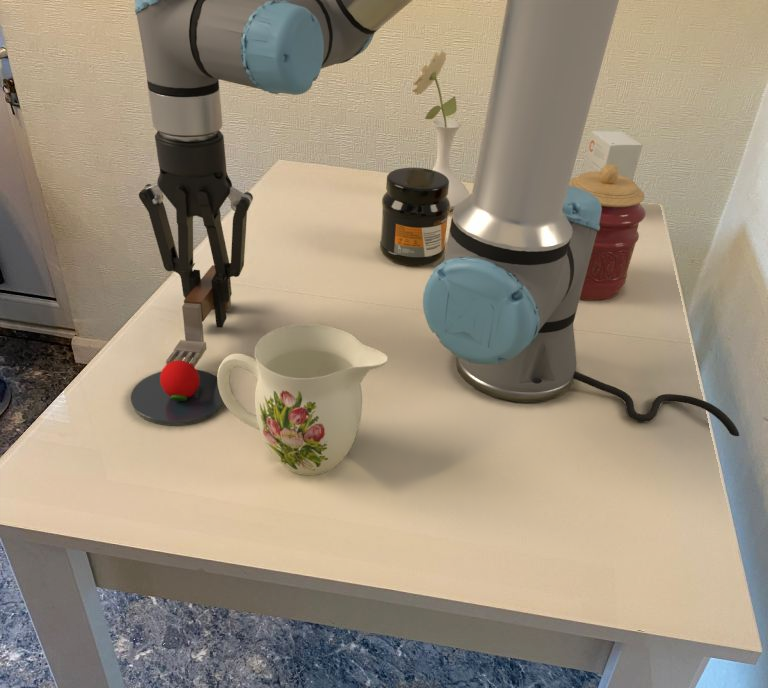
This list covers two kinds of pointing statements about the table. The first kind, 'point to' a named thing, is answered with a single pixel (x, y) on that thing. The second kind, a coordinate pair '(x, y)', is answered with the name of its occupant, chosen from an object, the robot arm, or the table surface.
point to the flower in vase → (442, 128)
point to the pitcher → (304, 393)
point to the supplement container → (414, 216)
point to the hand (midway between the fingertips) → (210, 321)
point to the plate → (166, 411)
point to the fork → (196, 320)
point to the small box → (612, 152)
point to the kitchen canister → (611, 230)
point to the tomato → (179, 380)
